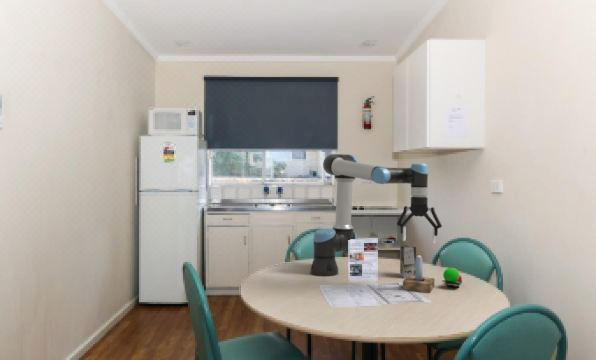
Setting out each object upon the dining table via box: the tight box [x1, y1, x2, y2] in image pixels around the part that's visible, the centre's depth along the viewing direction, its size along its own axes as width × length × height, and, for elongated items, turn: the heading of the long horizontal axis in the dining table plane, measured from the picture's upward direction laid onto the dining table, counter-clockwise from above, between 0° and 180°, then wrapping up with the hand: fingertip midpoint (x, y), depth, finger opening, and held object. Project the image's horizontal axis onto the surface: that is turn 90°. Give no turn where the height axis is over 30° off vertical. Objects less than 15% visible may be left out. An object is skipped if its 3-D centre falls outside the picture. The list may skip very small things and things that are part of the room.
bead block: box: [402, 276, 435, 294], centre depth 198 cm, size 12×12×4 cm
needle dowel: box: [415, 255, 424, 281], centre depth 198 cm, size 3×3×15 cm
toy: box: [441, 267, 463, 288], centre depth 202 cm, size 8×8×15 cm
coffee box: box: [399, 244, 417, 279], centre depth 221 cm, size 9×6×16 cm
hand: (418, 241), depth 198 cm, fingers open, 13 cm apart
